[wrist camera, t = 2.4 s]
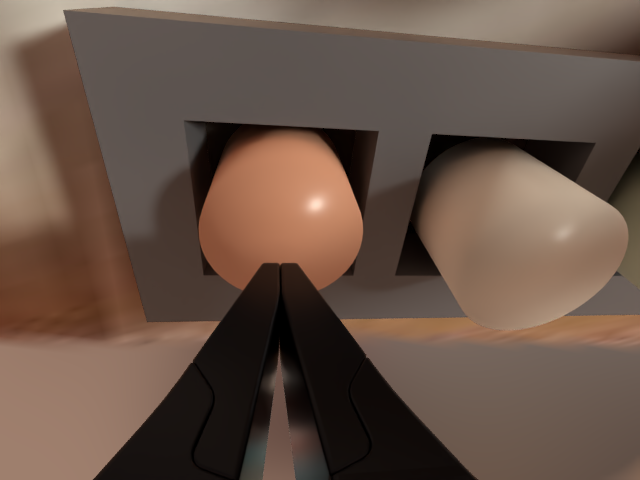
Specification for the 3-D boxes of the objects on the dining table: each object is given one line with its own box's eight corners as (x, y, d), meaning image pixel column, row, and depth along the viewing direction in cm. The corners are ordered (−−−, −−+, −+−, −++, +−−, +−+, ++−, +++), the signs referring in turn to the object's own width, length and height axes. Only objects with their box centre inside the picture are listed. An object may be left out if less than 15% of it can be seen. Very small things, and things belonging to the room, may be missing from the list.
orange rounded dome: (347, 117, 13) (375, 165, 9) (334, 226, 15) (351, 297, 12) (215, 109, 12) (188, 157, 8) (224, 224, 15) (206, 298, 11)
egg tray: (787, 68, 13) (902, 84, 11) (635, 272, 19) (688, 313, 17) (114, 7, 10) (62, 10, 8) (167, 272, 16) (147, 321, 14)
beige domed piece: (552, 141, 12) (665, 200, 9) (503, 248, 15) (575, 328, 11) (426, 133, 12) (492, 195, 8) (397, 247, 14) (438, 331, 11)
